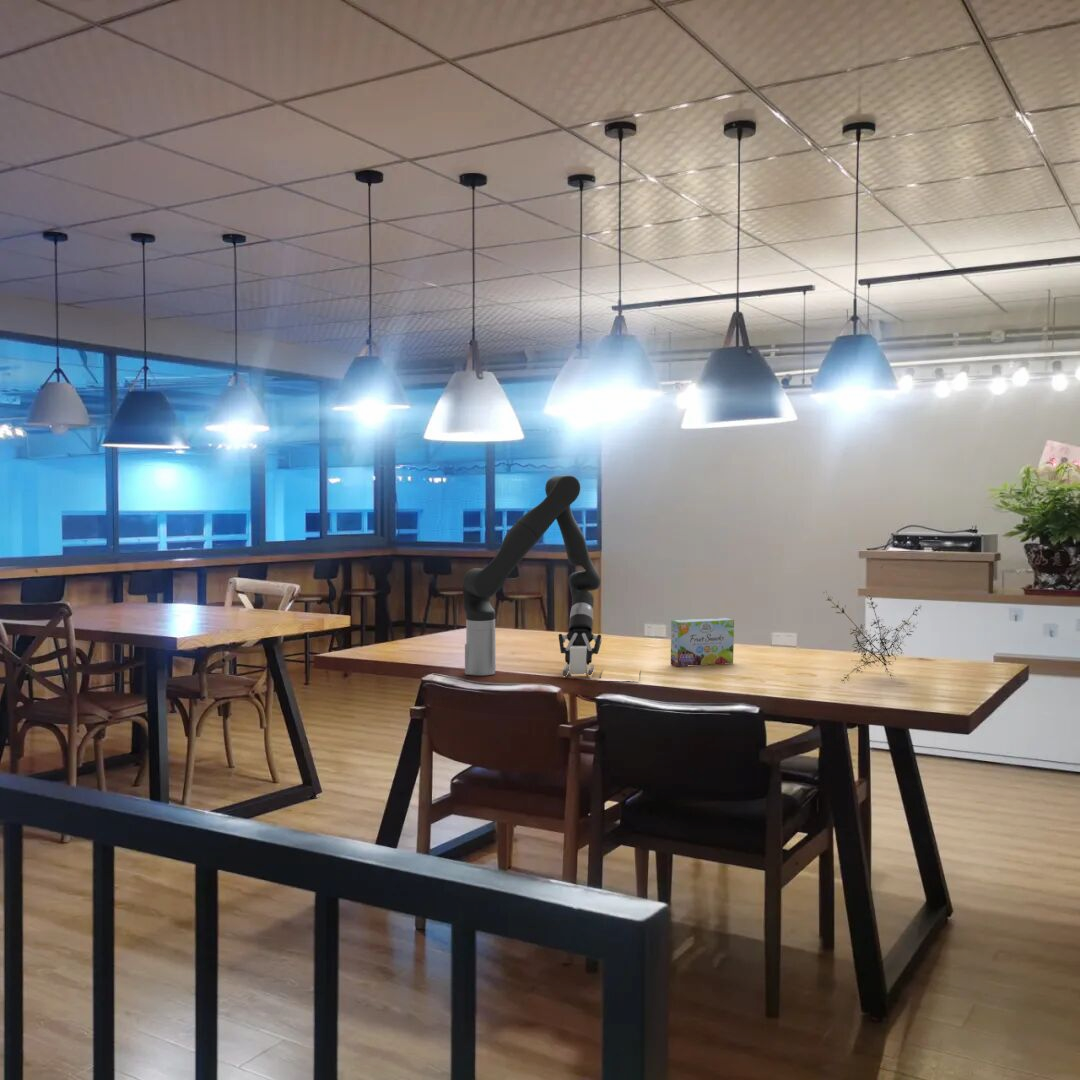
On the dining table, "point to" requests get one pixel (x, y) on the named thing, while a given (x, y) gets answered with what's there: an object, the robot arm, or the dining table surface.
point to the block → (578, 659)
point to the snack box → (702, 641)
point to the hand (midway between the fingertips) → (578, 662)
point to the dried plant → (876, 640)
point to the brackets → (568, 670)
